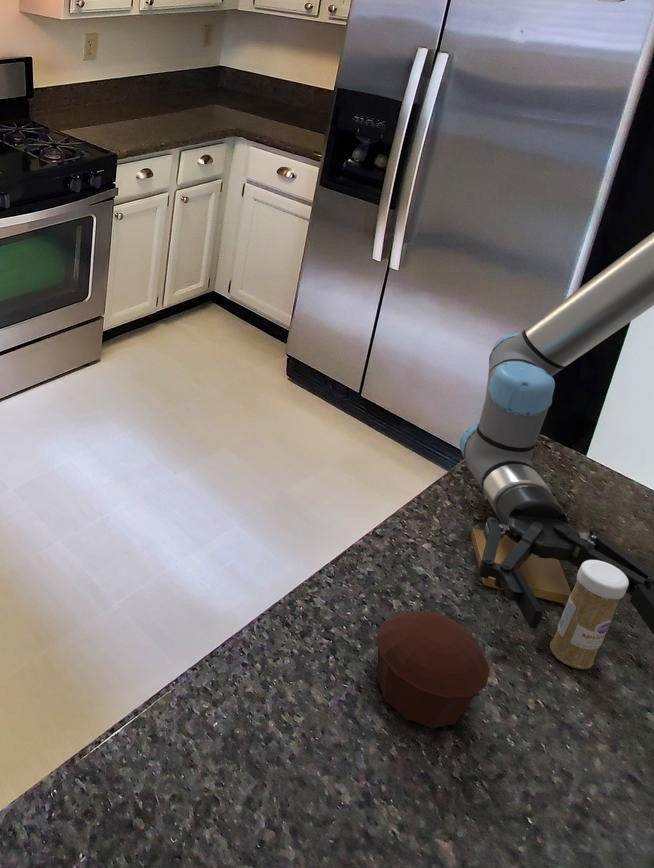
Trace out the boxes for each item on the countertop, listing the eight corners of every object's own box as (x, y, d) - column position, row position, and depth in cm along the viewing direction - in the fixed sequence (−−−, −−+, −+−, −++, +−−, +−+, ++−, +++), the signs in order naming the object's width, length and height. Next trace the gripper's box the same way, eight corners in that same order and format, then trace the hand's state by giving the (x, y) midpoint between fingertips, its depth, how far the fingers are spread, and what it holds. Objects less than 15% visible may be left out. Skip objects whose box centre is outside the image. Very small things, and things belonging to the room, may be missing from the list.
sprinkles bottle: (581, 677, 94) (618, 593, 89) (541, 649, 98) (573, 567, 92) (600, 660, 97) (637, 577, 91) (560, 633, 100) (593, 552, 94)
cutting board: (550, 552, 113) (553, 544, 112) (569, 604, 104) (572, 596, 104) (470, 535, 116) (473, 528, 115) (483, 585, 107) (485, 577, 107)
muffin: (429, 756, 86) (451, 692, 81) (344, 678, 95) (360, 617, 90) (496, 708, 91) (520, 646, 87) (409, 638, 100) (427, 579, 95)
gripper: (615, 536, 110) (712, 666, 91) (422, 516, 114) (475, 636, 95) (633, 493, 107) (737, 619, 88) (433, 474, 111) (491, 589, 92)
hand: (601, 628), depth 91 cm, fingers open, 13 cm apart
